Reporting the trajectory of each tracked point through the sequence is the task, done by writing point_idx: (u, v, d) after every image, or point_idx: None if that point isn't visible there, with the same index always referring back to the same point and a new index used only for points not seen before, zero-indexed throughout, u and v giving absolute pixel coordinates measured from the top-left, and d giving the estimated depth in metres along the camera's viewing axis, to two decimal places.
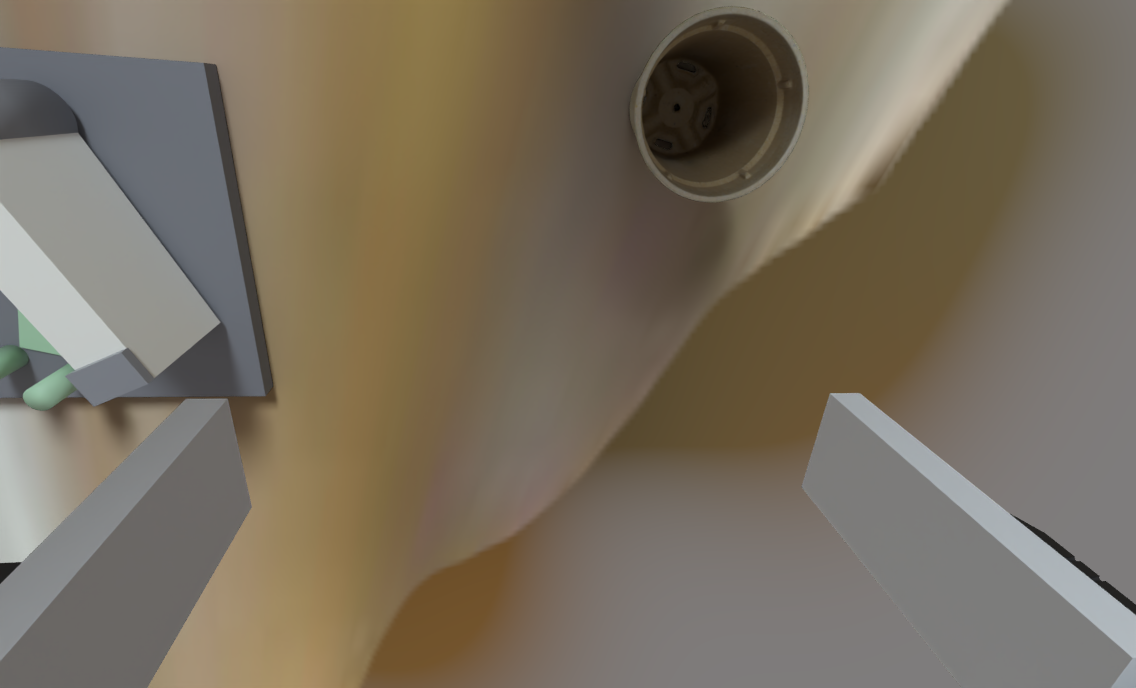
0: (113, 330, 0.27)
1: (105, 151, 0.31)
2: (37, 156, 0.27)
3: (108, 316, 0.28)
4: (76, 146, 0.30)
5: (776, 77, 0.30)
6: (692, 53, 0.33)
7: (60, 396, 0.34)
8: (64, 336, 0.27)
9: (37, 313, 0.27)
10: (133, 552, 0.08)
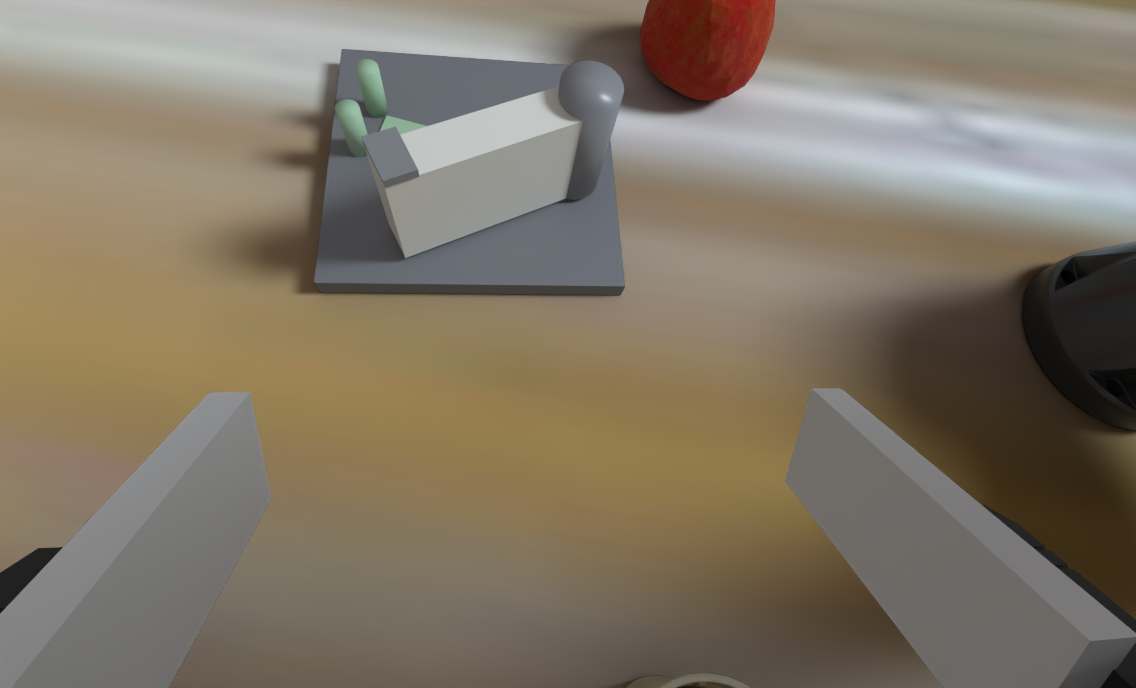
0: (436, 170, 0.31)
1: (552, 211, 0.41)
2: (561, 168, 0.37)
3: (448, 171, 0.31)
4: (558, 194, 0.40)
5: None
6: None
7: (346, 123, 0.37)
8: (431, 137, 0.31)
9: (453, 127, 0.32)
10: (165, 538, 0.08)
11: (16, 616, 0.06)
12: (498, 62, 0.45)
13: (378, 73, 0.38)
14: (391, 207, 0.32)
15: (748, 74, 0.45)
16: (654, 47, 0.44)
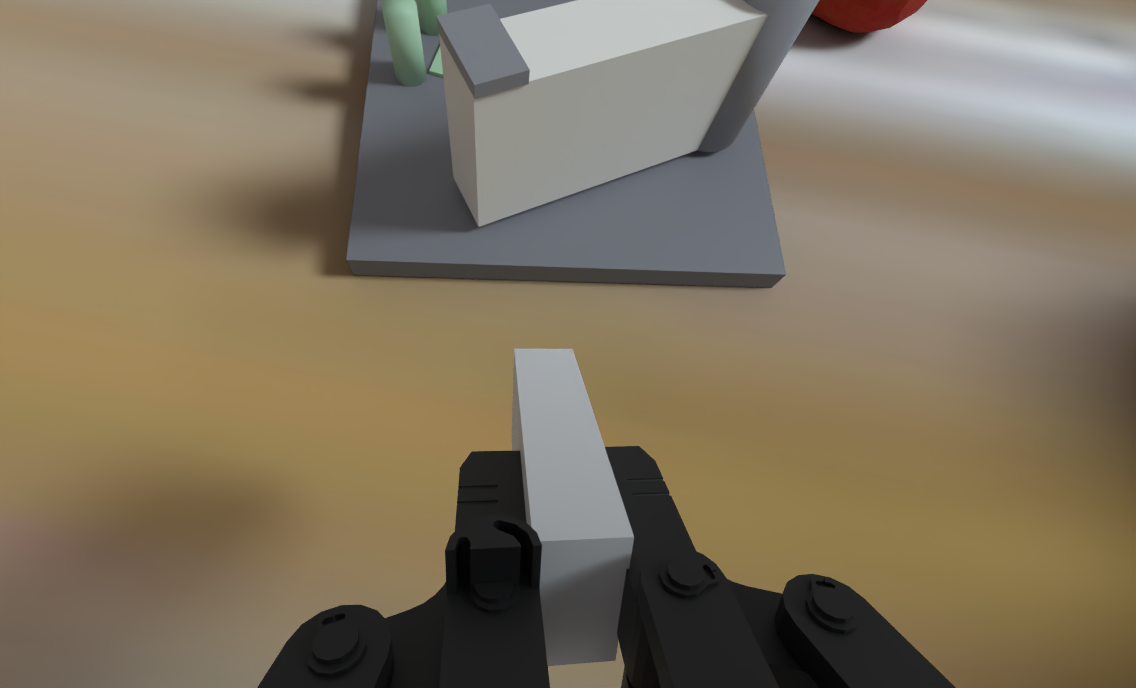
0: (554, 77, 0.19)
1: (678, 168, 0.29)
2: (711, 97, 0.25)
3: (569, 81, 0.20)
4: (692, 142, 0.28)
5: None
6: None
7: (397, 28, 0.25)
8: (544, 27, 0.20)
9: (576, 13, 0.20)
10: None
11: (539, 480, 0.09)
12: None
13: None
14: (476, 138, 0.20)
15: None
16: None
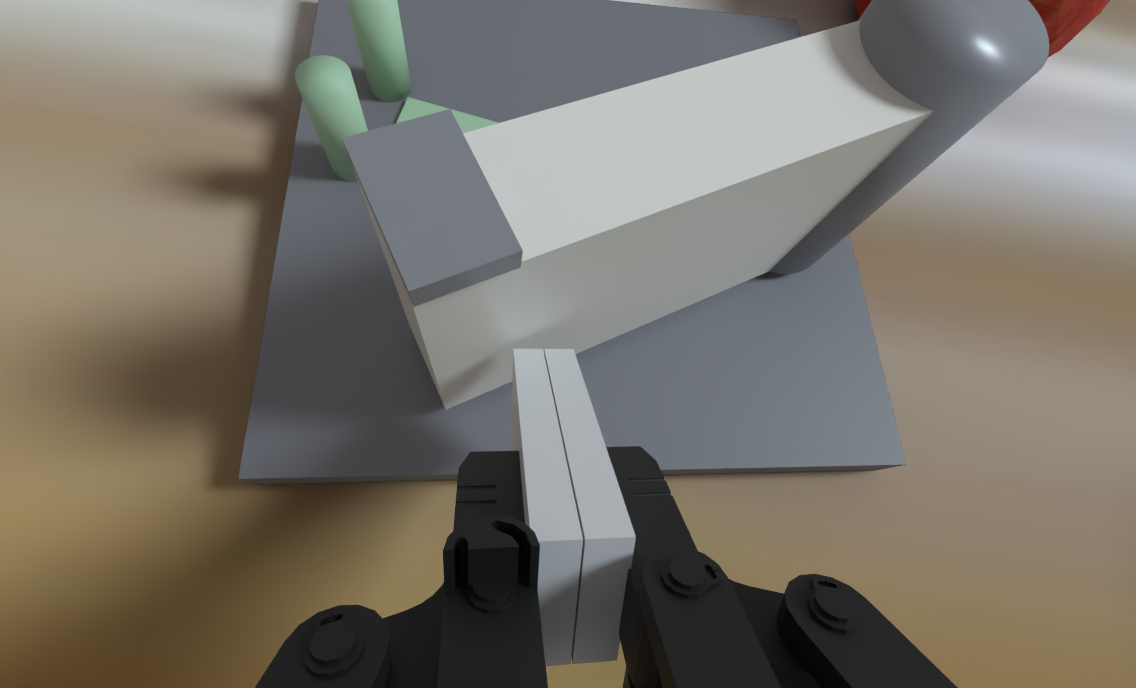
0: (569, 247, 0.10)
1: (742, 297, 0.20)
2: (808, 219, 0.16)
3: (597, 246, 0.11)
4: (765, 266, 0.19)
5: None
6: None
7: (321, 110, 0.16)
8: (551, 145, 0.11)
9: (609, 117, 0.11)
10: None
11: (537, 480, 0.09)
12: (613, 4, 0.24)
13: (394, 3, 0.18)
14: (426, 341, 0.11)
15: (1076, 34, 0.24)
16: None
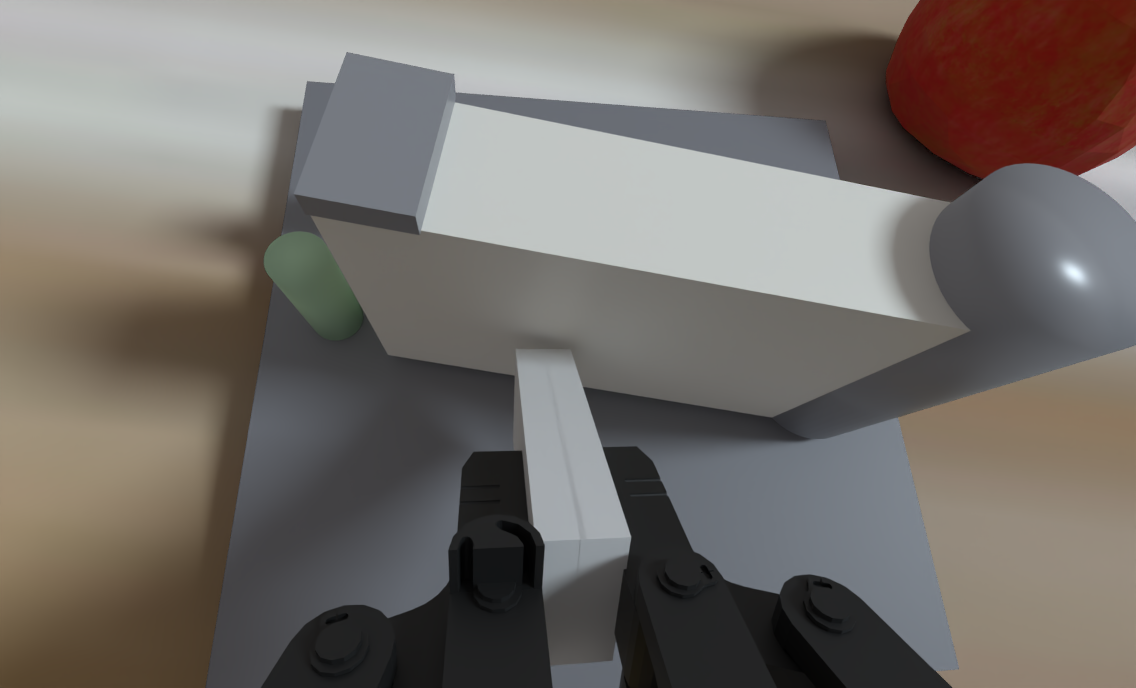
0: (479, 244, 0.10)
1: (771, 465, 0.18)
2: (811, 380, 0.14)
3: (515, 261, 0.10)
4: (764, 408, 0.17)
5: None
6: None
7: (295, 295, 0.14)
8: (532, 153, 0.11)
9: (607, 158, 0.11)
10: None
11: (541, 479, 0.09)
12: (626, 110, 0.22)
13: None
14: (340, 264, 0.11)
15: None
16: (956, 85, 0.21)
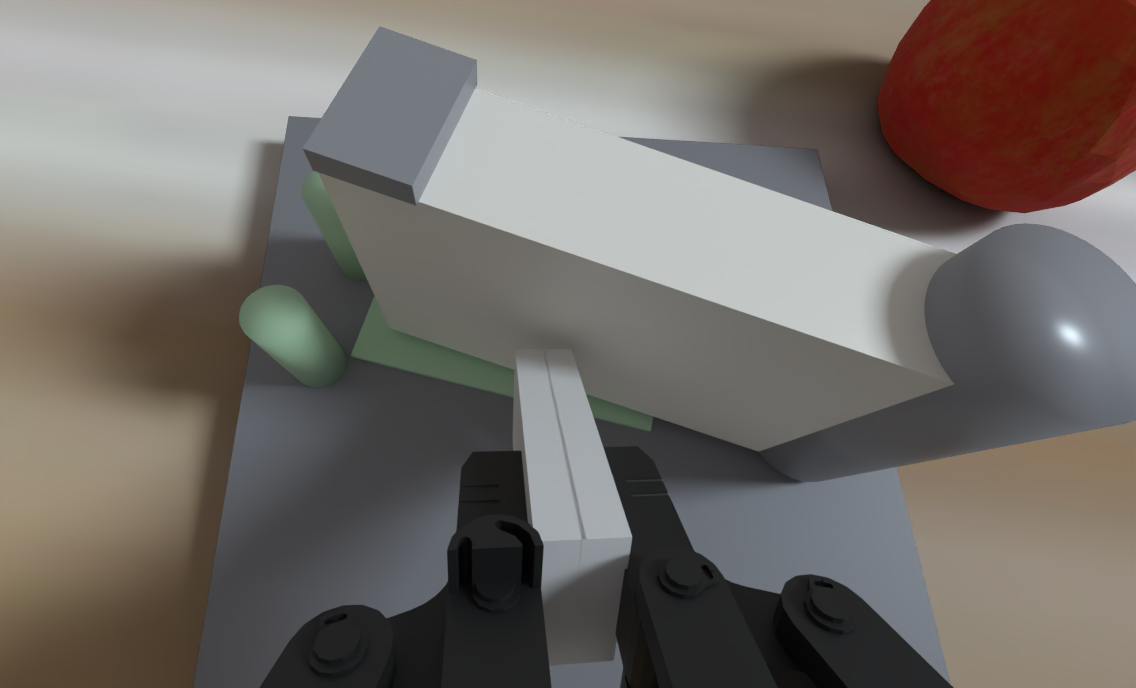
0: (472, 223, 0.10)
1: (766, 509, 0.18)
2: (796, 415, 0.14)
3: (506, 245, 0.11)
4: (750, 440, 0.17)
5: None
6: None
7: (272, 351, 0.14)
8: (540, 145, 0.11)
9: (613, 160, 0.11)
10: None
11: (540, 480, 0.09)
12: None
13: None
14: (346, 227, 0.12)
15: None
16: (948, 115, 0.21)
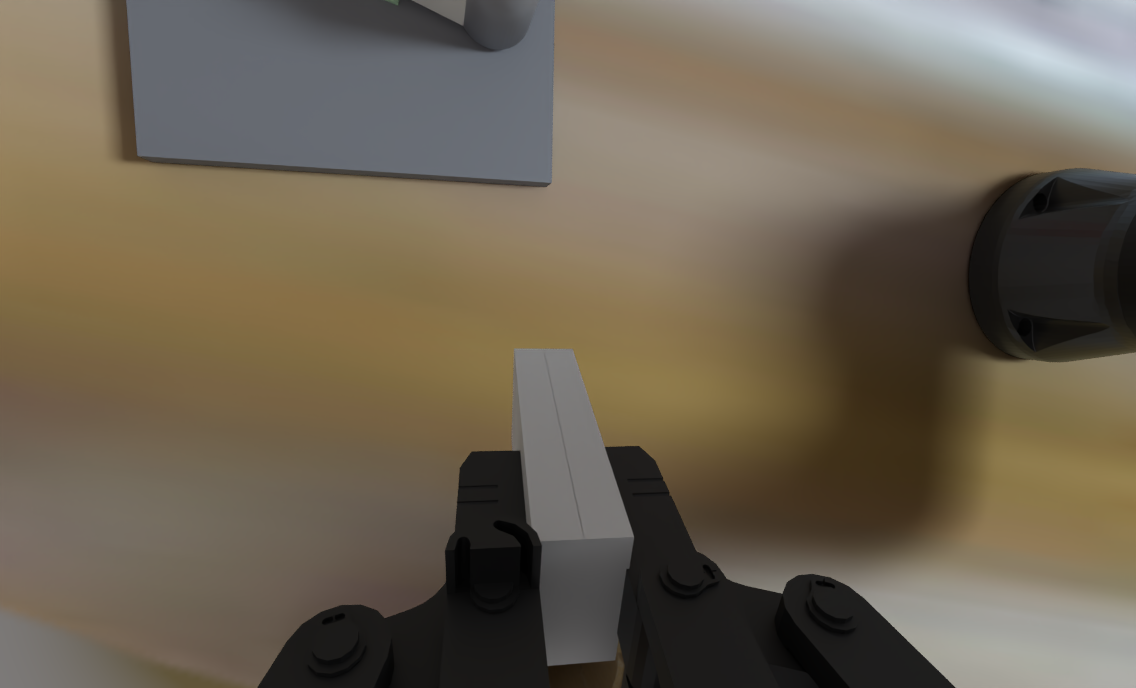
0: None
1: (466, 64, 0.31)
2: None
3: None
4: (451, 12, 0.29)
5: None
6: None
7: None
8: None
9: None
10: None
11: (539, 479, 0.09)
12: None
13: None
14: None
15: None
16: None
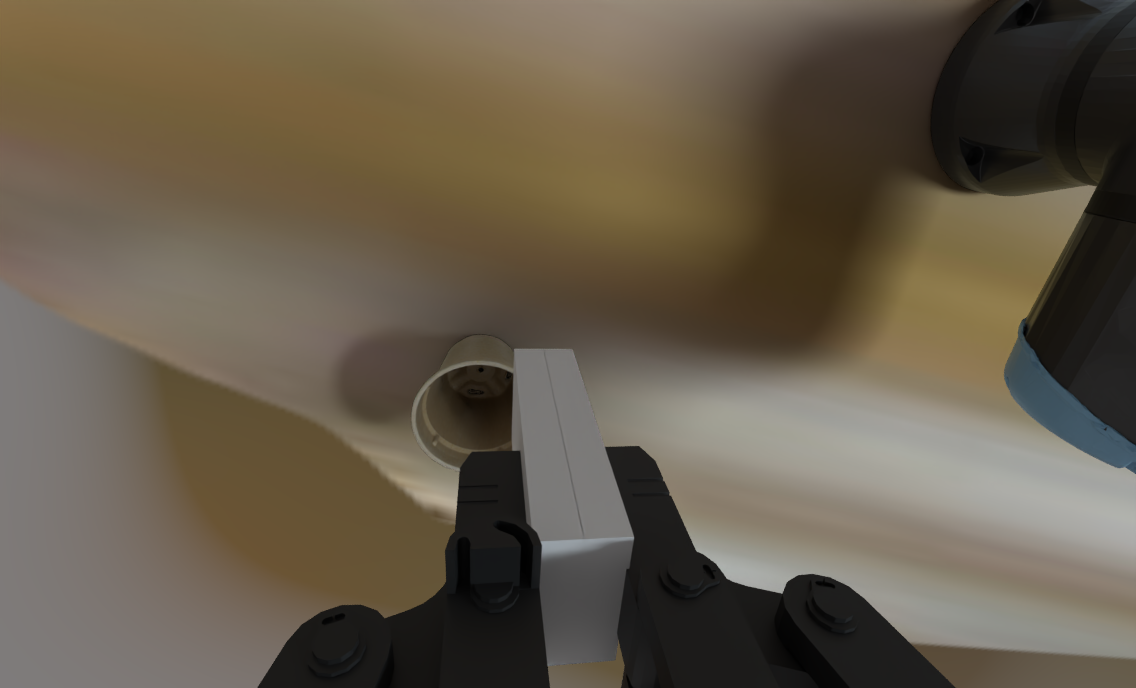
0: None
1: None
2: None
3: None
4: None
5: (504, 445, 0.42)
6: None
7: None
8: None
9: None
10: None
11: (539, 479, 0.09)
12: None
13: None
14: None
15: None
16: None
